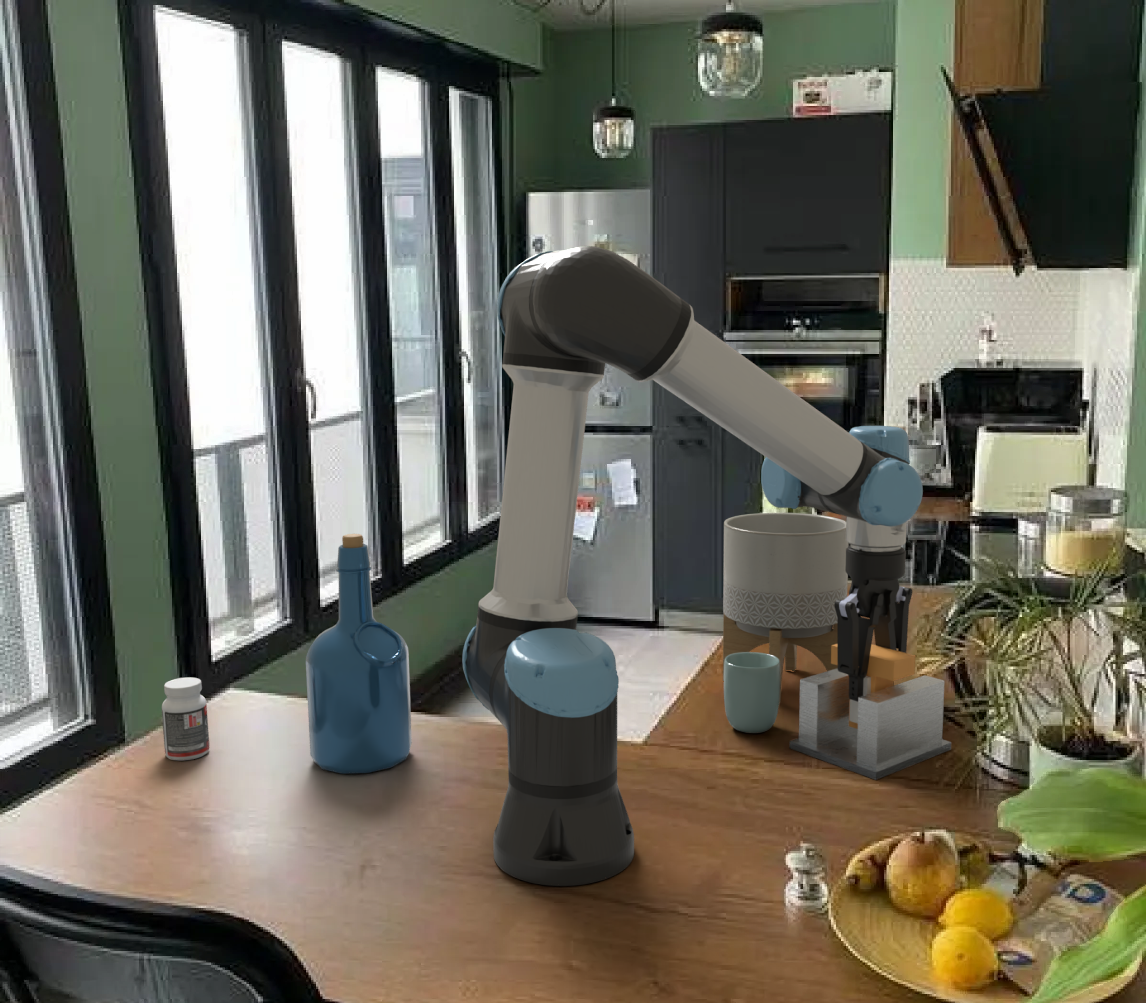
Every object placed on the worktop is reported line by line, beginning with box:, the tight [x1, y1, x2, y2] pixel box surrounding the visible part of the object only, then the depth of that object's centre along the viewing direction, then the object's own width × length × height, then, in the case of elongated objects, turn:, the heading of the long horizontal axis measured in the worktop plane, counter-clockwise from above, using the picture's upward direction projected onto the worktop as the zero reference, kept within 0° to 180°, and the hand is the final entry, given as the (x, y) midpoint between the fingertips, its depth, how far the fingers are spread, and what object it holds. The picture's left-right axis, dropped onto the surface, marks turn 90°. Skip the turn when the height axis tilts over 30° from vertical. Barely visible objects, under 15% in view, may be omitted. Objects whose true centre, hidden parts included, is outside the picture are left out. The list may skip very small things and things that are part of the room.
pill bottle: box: [161, 676, 210, 762], centre depth 151 cm, size 6×6×10 cm
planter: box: [722, 512, 850, 705], centre depth 176 cm, size 19×19×26 cm
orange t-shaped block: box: [831, 644, 916, 729], centre depth 150 cm, size 4×10×10 cm, turn 38°
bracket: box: [788, 668, 952, 781], centre depth 150 cm, size 16×14×10 cm
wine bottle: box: [305, 533, 413, 775], centre depth 148 cm, size 14×13×30 cm
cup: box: [723, 651, 780, 734], centre depth 158 cm, size 8×8×10 cm
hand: (870, 718), depth 150 cm, fingers closed on orange t-shaped block, 4 cm apart
